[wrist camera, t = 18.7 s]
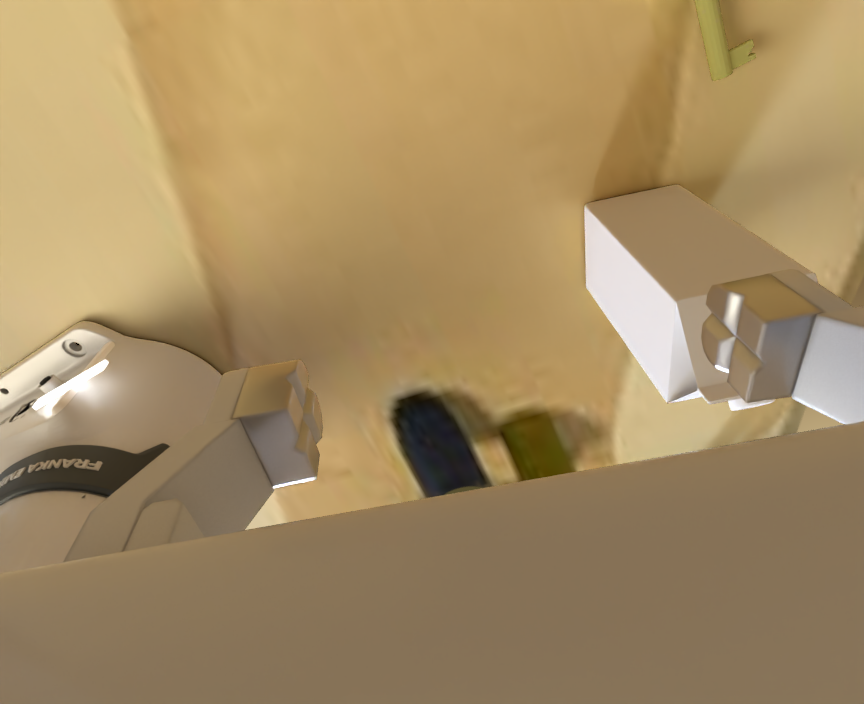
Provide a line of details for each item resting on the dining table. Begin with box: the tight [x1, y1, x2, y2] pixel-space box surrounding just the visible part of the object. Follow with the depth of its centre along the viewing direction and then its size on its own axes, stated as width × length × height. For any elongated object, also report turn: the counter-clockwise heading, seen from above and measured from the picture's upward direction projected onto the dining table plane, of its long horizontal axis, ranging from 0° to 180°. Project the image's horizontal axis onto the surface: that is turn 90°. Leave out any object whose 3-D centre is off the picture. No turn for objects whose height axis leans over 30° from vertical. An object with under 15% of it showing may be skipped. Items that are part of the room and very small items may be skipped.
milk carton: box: [584, 185, 818, 411], centre depth 34 cm, size 7×7×19 cm
